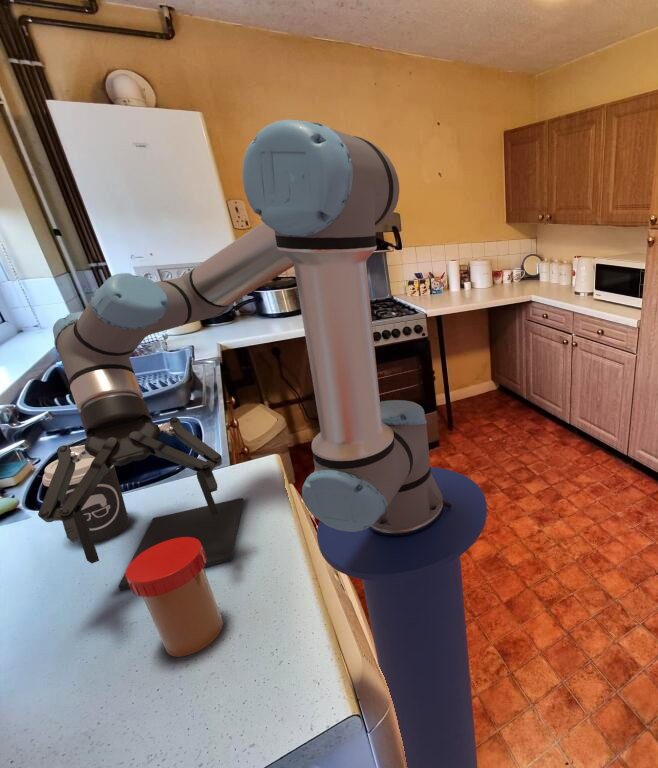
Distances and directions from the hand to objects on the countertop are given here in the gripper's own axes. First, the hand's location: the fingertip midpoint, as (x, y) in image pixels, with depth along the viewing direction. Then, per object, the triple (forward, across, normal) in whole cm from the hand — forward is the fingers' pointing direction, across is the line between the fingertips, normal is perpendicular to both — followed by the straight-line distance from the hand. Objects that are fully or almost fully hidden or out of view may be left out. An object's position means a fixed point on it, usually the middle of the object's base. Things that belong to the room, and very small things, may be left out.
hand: (158, 535), depth 61 cm
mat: (-2, -3, -20) cm, 21 cm away
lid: (+5, 0, +5) cm, 7 cm away
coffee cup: (-12, +8, -31) cm, 34 cm away
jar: (+14, 0, -4) cm, 15 cm away
